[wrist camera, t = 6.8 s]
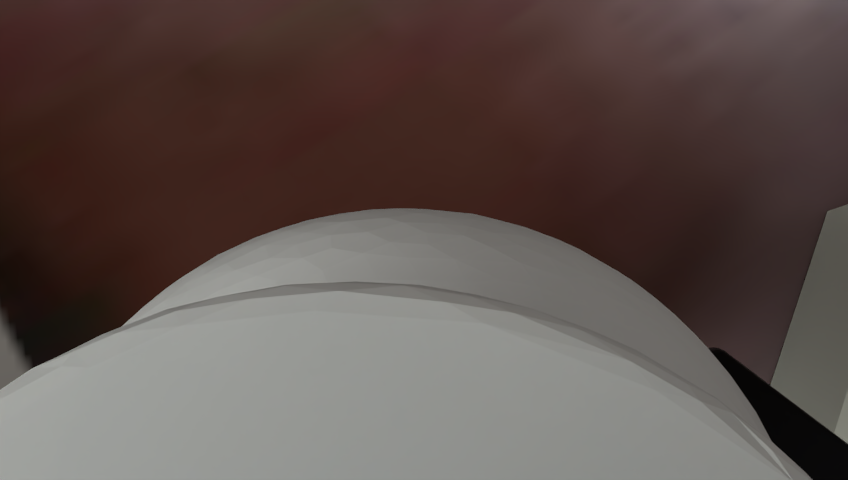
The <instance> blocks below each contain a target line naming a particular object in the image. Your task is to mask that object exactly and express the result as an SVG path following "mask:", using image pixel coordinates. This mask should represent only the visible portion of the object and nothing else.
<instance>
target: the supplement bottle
mask: <svg viewBox="0 0 848 480" xmlns="http://www.w3.org/2000/svg"><path fill="white" fill-rule="evenodd" d="M0 480H812V479H811V478H810V477H809V475H808V474H807V473H806V472H805V471H804V470H802V469H801V468H800V467H799V466H798V465H797V464H796V463H795V462H794V461H793V460H791V459H790V458H789V457H788V456H787V455H786V454H785V453H784V452H783V451H782V450H780V449H779V448H778V447H777V446H776V445H775V444H774V443H773V442H772V441H771V439H770V437H769V435H768V434H767V432H766V430H765V428H764V426H763V424H762V422H761V420H760V419H759V417H758V415H757V413H756V411H755V410H754V408H753V407H752V406H751V404H750V403H749V401H748V400H747V398H746V397H745V395H744V394H743V393H742V391H741V390H740V388H739V387H738V385H737V384H736V382H735V381H734V380H733V378H732V377H731V375H730V374H729V373H728V372H727V370H726V369H725V368H724V367H723V366H722V364H721V363H720V362H719V361H718V360H717V358H716V357H715V356H714V355H713V354H712V352H711V351H710V350H709V349H708V348H707V347H706V346H705V345H704V343H703V342H702V341H701V340H700V339H699V338H698V337H697V336H696V335H695V334H694V333H693V332H692V331H691V330H690V329H689V328H688V327H687V326H686V325H685V324H684V323H683V322H682V321H681V320H680V319H679V318H678V317H677V316H676V315H675V314H674V313H672V312H671V311H670V310H669V309H668V308H667V307H665V306H664V305H663V304H662V303H661V302H660V301H658V300H657V299H656V298H655V297H654V296H652V295H651V294H650V293H648V292H647V291H646V290H644V289H643V288H642V287H640V286H639V285H638V284H637V283H635V282H634V281H632V280H631V279H629V278H628V277H626V276H625V275H623V274H621V273H620V272H618V271H617V270H615V269H613V268H611V267H610V266H608V265H606V264H604V263H603V262H601V261H599V260H597V259H596V258H594V257H592V256H590V255H589V254H587V253H585V252H583V251H582V250H580V249H578V248H576V247H573V246H571V245H569V244H567V243H565V242H562V241H560V240H558V239H556V238H553V237H550V236H547V235H545V234H542V233H539V232H537V231H534V230H531V229H529V228H526V227H522V226H519V225H515V224H511V223H508V222H504V221H500V220H496V219H492V218H488V217H484V216H480V215H476V214H468V213H458V212H448V211H438V210H428V209H375V210H364V211H357V212H350V213H343V214H337V215H332V216H327V217H322V218H317V219H312V220H307V221H304V222H301V223H297V224H294V225H291V226H287V227H284V228H281V229H278V230H275V231H272V232H270V233H267V234H264V235H261V236H258V237H256V238H253V239H251V240H249V241H247V242H245V243H243V244H240V245H238V246H236V247H234V248H232V249H230V250H227V251H225V252H223V253H221V254H219V255H217V256H215V257H214V258H212V259H211V260H209V261H207V262H206V263H204V264H202V265H201V266H199V267H198V268H196V269H194V270H193V271H191V272H190V273H188V274H186V275H185V276H183V277H182V278H180V279H179V280H177V281H176V282H175V283H173V284H172V285H170V286H169V287H168V288H166V289H165V290H164V291H162V292H161V293H160V294H159V295H157V296H156V297H155V298H154V299H153V300H151V301H150V302H149V303H148V304H146V305H145V306H144V307H143V308H142V309H140V310H139V311H138V312H137V313H136V314H135V315H134V316H133V317H132V318H131V319H129V320H128V321H127V322H126V323H125V324H124V325H123V326H122V327H120V328H117V329H115V330H112V331H110V332H107V333H105V334H102V335H100V336H98V337H96V338H94V339H92V340H90V341H88V342H86V343H84V344H82V345H80V346H78V347H76V348H74V349H72V350H70V351H68V352H66V353H64V354H62V355H60V356H58V357H56V358H54V359H52V360H49V361H47V362H45V363H43V364H41V365H39V366H36V367H34V368H32V369H30V370H29V371H27V372H26V373H24V374H23V375H22V376H20V377H18V378H17V379H15V380H14V381H12V382H11V383H9V384H8V385H6V386H5V387H4V388H2V389H1V390H0Z"/></svg>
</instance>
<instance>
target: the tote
mask: <svg viewBox="0 0 848 480" xmlns="http://www.w3.org/2000/svg"><path fill="white" fill-rule="evenodd" d="M770 386H772V387H773V388H774V389H776V390H777V391H778V392H780V393H781V394H782V395H784V396H785V397H786V398H788V399H789V400H790V401H792V402H793V403H794V404H796V405H797V406H798V407H800V408H801V409H802V410H804V411H805V412H806V413H808V414H809V415H810V416H812V417H813V418H814V419H816V420H817V421H818V422H820V423H821V424H822V425H824V426H825V427H826V428H828V429H829V430H830V431H832V432H833V433H834V434H836V435H837V436H838V437H840V438H841V439H842V440H844V441H845V442H846V443H848V204H847V205H844V206H841V207H838V208H835V209H832V210H829V211H827V214H826V217H825V220H824V223H823V226H822V229H821V232H820V235H819V238H818V241H817V244H816V247H815V250H814V254H813V257H812V260H811V263H810V266H809V269H808V272H807V275H806V278H805V281H804V284H803V287H802V290H801V293H800V296H799V299H798V302H797V305H796V308H795V311H794V314H793V318H792V321H791V324H790V327H789V330H788V333H787V336H786V339H785V342H784V345H783V348H782V351H781V354H780V357H779V360H778V363H777V366H776V369H775V372H774V375H773V378H772V382H771V385H770Z"/></svg>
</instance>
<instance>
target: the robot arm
mask: <svg viewBox="0 0 848 480" xmlns="http://www.w3.org/2000/svg"><path fill="white" fill-rule="evenodd" d="M708 349H709V350H710V351H711V352H712V354H713V355H714V356H715V357H716V358H717V360H718V361H719V362H720V363H721V364H722V366H723V367H724V368H725V369H726V370H727V372H728V373H729V374H730V375H731V377H732V378H733V380H734V381H735V382H736V384H737V385H738V387H739V388H740V390H741V391H742V393H743V394H744V395H745V397H746V398H747V400H748V401H749V403H750V404H751V406H752V407H753V408H754V410H755V411H756V413H757V415H758V417H759V419H760V420H761V422H762V424H763V426H764V428H765V430H766V432H767V434H768V435H769V437H770V439H771V441H772V442H773V443H774V444H775V445H776V446H777V447H778V448H779V449H780V450H782V451H783V452H784V453H785V454H786V455H787V456H788V457H789V458H790V459H791V460H793V461H794V462H795V463H796V464H797V465H798V466H799V467H800V468H801V469H802V470H804V471H805V472H806V473H807V474H808V475H809V477H810V478H811V479H812V480H848V443H846V442H845V441H844V440H842V439H841V438H840V437H838V436H837V435H836V434H834V433H833V432H832V431H830V430H829V429H828V428H826V427H825V426H824V425H822V424H821V423H820V422H818V421H817V420H816V419H814V418H813V417H812V416H810V415H809V414H808V413H806V412H805V411H804V410H802V409H801V408H800V407H798V406H797V405H796V404H794V403H793V402H792V401H790V400H789V399H788V398H786V397H785V396H784V395H782V394H781V393H780V392H778V391H777V390H776V389H774V388H773V387H772V386H770V385H769V384H768V383H766V382H765V381H764V380H762V379H761V378H760V377H758V376H757V375H756V374H754V373H753V372H752V371H751V370H749V369H748V368H747V367H745V366H744V365H743V364H741V363H740V362H739V361H737V360H736V359H735V358H733V357H732V356H731V355H729V354H728V353H727V352H725V351H724V350H721V349H719V348H708Z"/></svg>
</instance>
